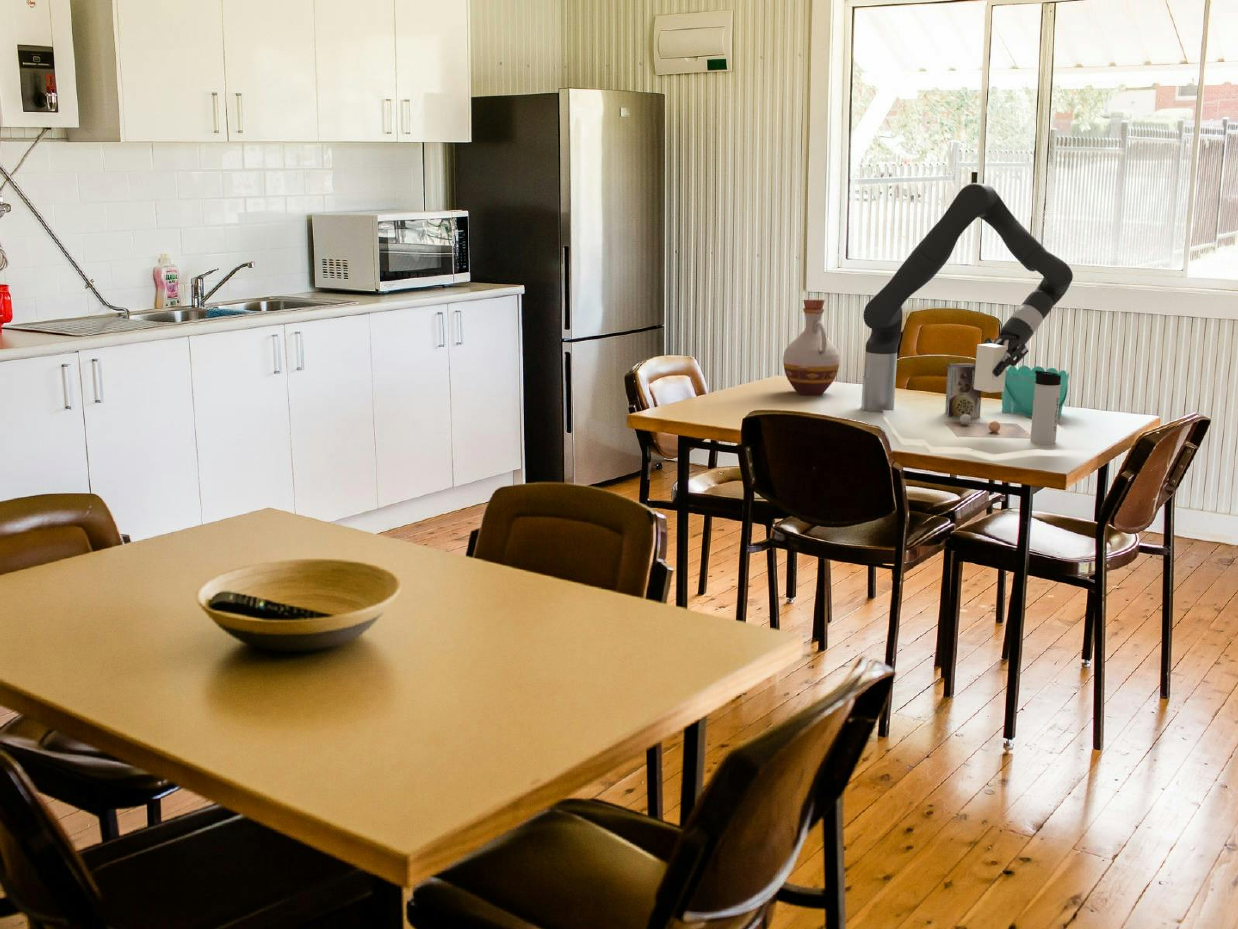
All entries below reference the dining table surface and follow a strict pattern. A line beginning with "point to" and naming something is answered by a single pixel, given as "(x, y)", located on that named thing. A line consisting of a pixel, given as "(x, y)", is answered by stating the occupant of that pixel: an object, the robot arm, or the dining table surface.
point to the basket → (1027, 389)
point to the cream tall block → (989, 368)
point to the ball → (994, 426)
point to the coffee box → (962, 391)
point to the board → (987, 430)
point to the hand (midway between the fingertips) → (985, 372)
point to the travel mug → (1045, 407)
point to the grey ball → (965, 419)
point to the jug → (811, 355)
